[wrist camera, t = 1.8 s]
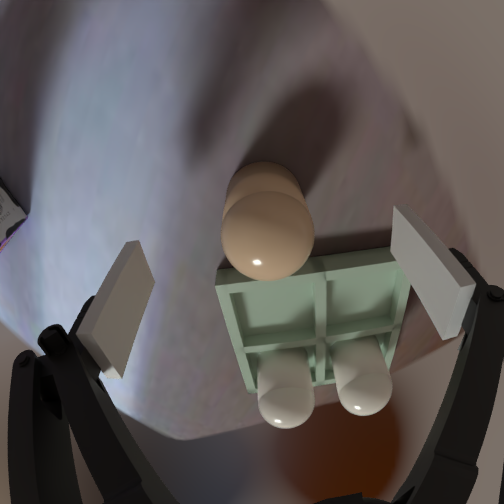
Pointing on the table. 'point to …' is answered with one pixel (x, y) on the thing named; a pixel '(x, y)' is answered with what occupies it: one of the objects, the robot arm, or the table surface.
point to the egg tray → (315, 309)
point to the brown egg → (266, 222)
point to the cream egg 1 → (285, 387)
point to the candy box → (9, 216)
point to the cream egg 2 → (361, 375)
